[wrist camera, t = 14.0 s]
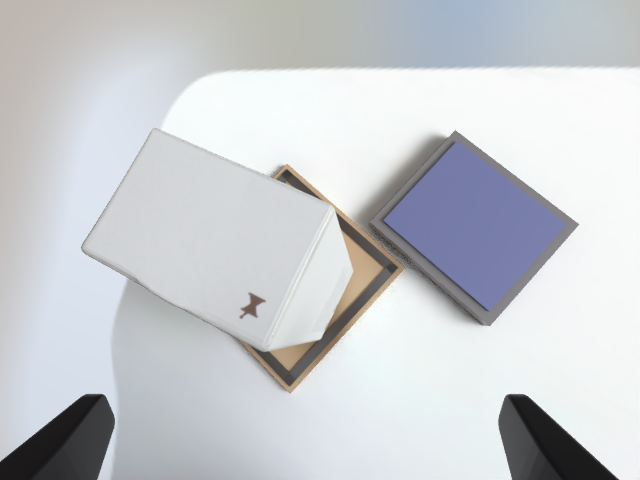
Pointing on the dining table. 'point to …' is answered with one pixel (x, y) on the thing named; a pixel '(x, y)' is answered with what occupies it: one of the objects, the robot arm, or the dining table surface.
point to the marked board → (361, 291)
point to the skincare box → (225, 244)
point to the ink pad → (473, 227)
